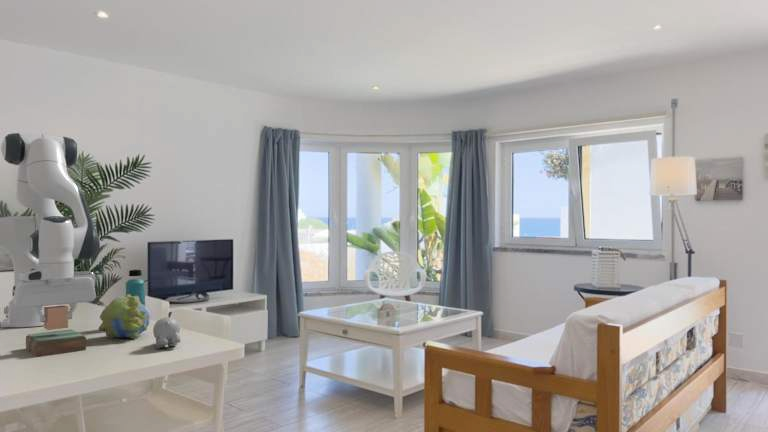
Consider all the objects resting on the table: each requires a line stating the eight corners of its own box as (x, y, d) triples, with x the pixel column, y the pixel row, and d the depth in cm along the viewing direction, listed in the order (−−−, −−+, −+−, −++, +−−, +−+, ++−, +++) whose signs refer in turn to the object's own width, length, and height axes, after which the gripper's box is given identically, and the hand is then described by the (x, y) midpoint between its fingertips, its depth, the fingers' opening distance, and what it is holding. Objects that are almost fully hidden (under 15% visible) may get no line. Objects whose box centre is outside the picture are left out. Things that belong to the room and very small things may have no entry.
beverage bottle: (140, 328, 188) (140, 270, 188) (121, 328, 188) (121, 270, 188) (148, 324, 194) (149, 268, 195) (130, 324, 194) (130, 268, 195)
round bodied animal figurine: (173, 351, 165) (172, 323, 168) (183, 342, 156) (181, 313, 159) (148, 353, 161) (147, 325, 164) (157, 345, 152) (155, 315, 155)
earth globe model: (146, 285, 181) (96, 290, 172) (155, 305, 168) (101, 312, 160) (146, 323, 184) (96, 330, 176) (154, 346, 171) (101, 354, 163)
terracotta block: (43, 327, 157) (44, 307, 157) (63, 325, 160) (63, 305, 160) (48, 330, 153) (48, 308, 153) (68, 327, 156) (68, 306, 157)
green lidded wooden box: (25, 348, 157) (26, 334, 157) (72, 342, 166) (72, 328, 166) (37, 356, 147) (37, 341, 147) (85, 349, 156) (85, 335, 156)
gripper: (92, 269, 166) (92, 315, 166) (12, 274, 152) (12, 323, 152) (98, 270, 162) (98, 317, 162) (17, 275, 148) (16, 326, 147)
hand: (55, 320), depth 157 cm, fingers closed on terracotta block, 5 cm apart
